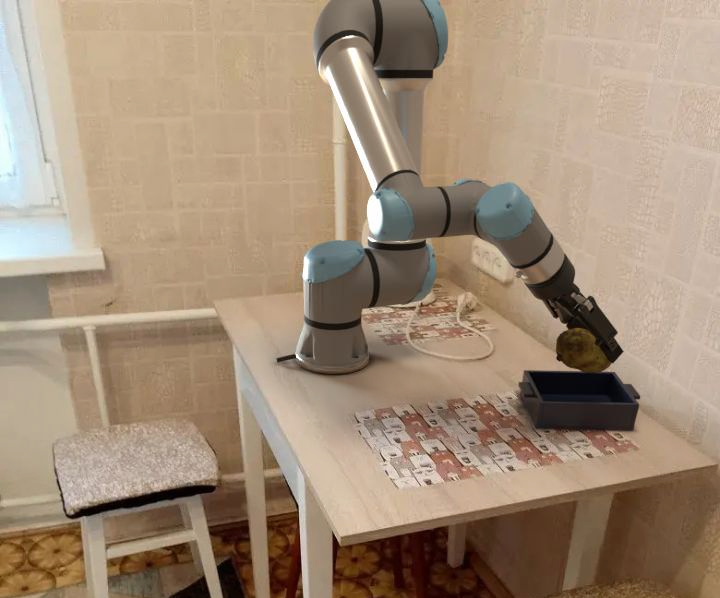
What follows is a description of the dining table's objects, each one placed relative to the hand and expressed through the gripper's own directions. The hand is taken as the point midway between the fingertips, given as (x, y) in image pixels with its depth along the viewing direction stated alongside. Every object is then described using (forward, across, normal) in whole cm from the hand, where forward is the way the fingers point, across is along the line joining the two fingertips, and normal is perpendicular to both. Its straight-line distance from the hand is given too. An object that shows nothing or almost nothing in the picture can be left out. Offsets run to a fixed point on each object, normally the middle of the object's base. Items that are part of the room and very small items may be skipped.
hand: (601, 349), depth 131 cm
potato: (0, 0, -5) cm, 5 cm away
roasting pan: (+6, 0, -11) cm, 12 cm away
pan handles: (+3, 0, -8) cm, 9 cm away
